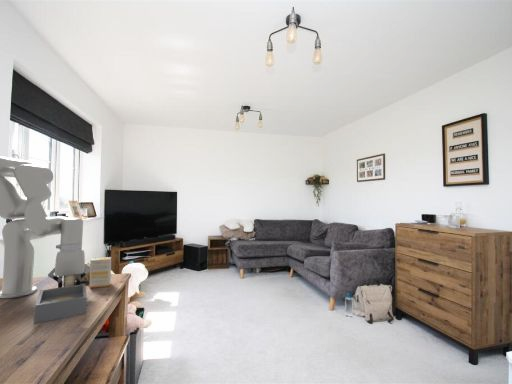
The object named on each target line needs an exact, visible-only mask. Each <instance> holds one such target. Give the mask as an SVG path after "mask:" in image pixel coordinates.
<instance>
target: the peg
mask: <svg viewBox="0 0 512 384" xmlns="http://www.w3.org/2000/svg"><path fill="white" fill-rule="evenodd" d="M75 275H76V274H75ZM75 275H67V276H63V283H62V287H68V286H75V285H76V281H75Z"/></svg>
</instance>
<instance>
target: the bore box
mask: <svg viewBox="0 0 512 384" xmlns="http://www.w3.org/2000/svg"><path fill="white" fill-rule="evenodd" d="M87 299H88V297H87V287H86V283H83V284H80V285H76V284H75V286H68V287H63V286H62V287H60V288H58V287H55V288H53V287H52V288H48V289H47V288H46V289H41V290H40V289H39V292H38V296H37V298H36V301H35V305H34V314H33V315H34V319H33V324H39V323H43V322H48V321H49V322H50V321H54V320H59V319H65V318H71V317H77V316H81V315H84V314H87V301H88V300H87Z"/></svg>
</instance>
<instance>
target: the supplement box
mask: <svg viewBox="0 0 512 384" xmlns="http://www.w3.org/2000/svg"><path fill="white" fill-rule="evenodd" d="M89 264H90V282H89V287H88V288H90V289H91V288H92V289H93V288H104V287H105V288H106V287H110V285H111V281H112V280H111V278H112V256H109V257H107V256H106V257H92V258H91V259H90V262H89Z"/></svg>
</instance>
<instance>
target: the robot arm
mask: <svg viewBox="0 0 512 384" xmlns="http://www.w3.org/2000/svg"><path fill="white" fill-rule="evenodd" d="M6 177H7V178H9V177H10V178H15V180H16V182H17V184H18V185H19V187H20V189H21V191H22V193H23V195H24V196H20V194H19V193H18V191H17V189H16V187H15V185H14V184H13V183H11V181H9V179H7V178H6ZM53 180H54V173H53V171H52V169H50V168H49V167H47V166H46V165H42V164H38V163H35V162H32V161H29V160H24V159H20V158H19V159H18V158H13V157H6V156H0V217H1V218H2V219H4V220H5V219H6V220H10V221H9V222H7V223H6V224H4V225H3V228H2V231H1V235H2V240H3V247H4V249H3V250H4V253H3V272H2V287H1V288H2V289H1V290H0V299H15V298H21V297H25V296H28V295H31V294H33V293H35V292H36V291H38V286H35V285H33V282H34V279H33V278H34V264H35V249H34V248H35V247H34V246H33V244H32V242H31V241H34V240H39V239H43V238H45V237H47V236H54V235H60V243H59V244H56V245H55V249H58V251H57V252H56V253H57V254H56V257H55V264H54V268H52V270H50V272H49V273H48V274H47V277H48V278H51V279H52V280H54V281H55V282H56V283H57V288H60V287H63V283H64V280H63V278H64V276H67V275H75V274H76V275H77V279H76V281H75V285H81V282H80V280H81V279H82V278H83V277H84V276H85V275H86V274H87V273H89V272H90V269H89V268H88V267H87V266H86V265H85V264H86V263H85V261H86V259H85V258H86V257H85V256H86V255H85V250H84V249H83V235H84V230H83V229H84V220H83V218H81V217H68V216H63V215H62V216H49V217H48V215H47V213H46V211H45V208H44V206H43V205H42V203H43V202H45V201H47V200H48V199H50V198H51V197H52V190H51V189H50V188H49V185H48V184H50V183H52V181H53ZM84 269H85V270H86V271H85V272H84ZM81 273H82V274H81ZM80 274H81V275H80Z"/></svg>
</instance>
